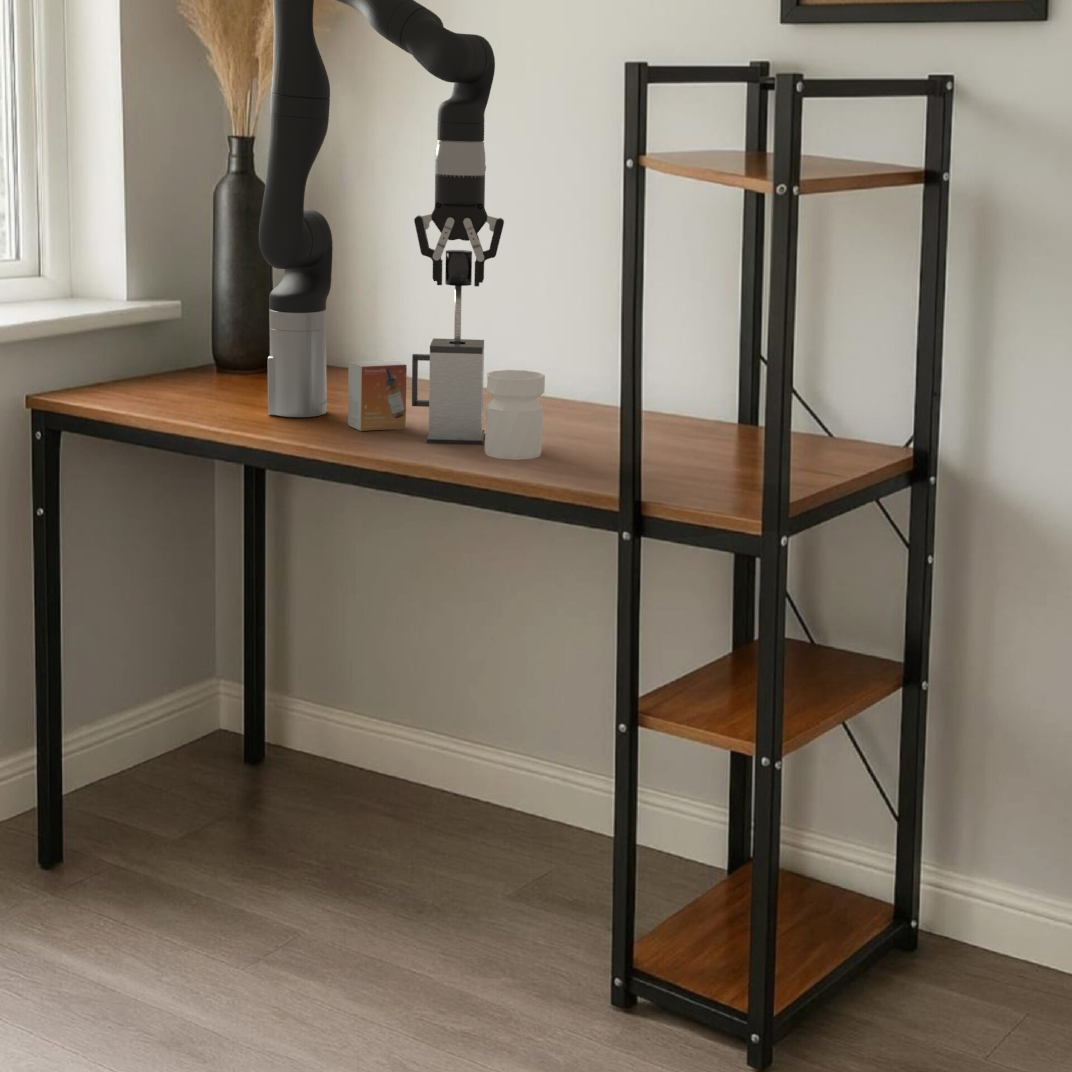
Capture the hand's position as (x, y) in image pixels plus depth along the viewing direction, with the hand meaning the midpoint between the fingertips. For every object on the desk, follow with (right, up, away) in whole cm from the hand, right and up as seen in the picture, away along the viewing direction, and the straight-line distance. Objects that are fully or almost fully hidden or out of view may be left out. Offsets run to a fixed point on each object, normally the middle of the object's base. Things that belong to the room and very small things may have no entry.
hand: (458, 284), depth 257 cm
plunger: (0, -15, +4) cm, 16 cm away
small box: (-14, -21, +13) cm, 28 cm away
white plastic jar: (+8, -26, -3) cm, 28 cm away
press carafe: (-2, -23, +6) cm, 24 cm away
